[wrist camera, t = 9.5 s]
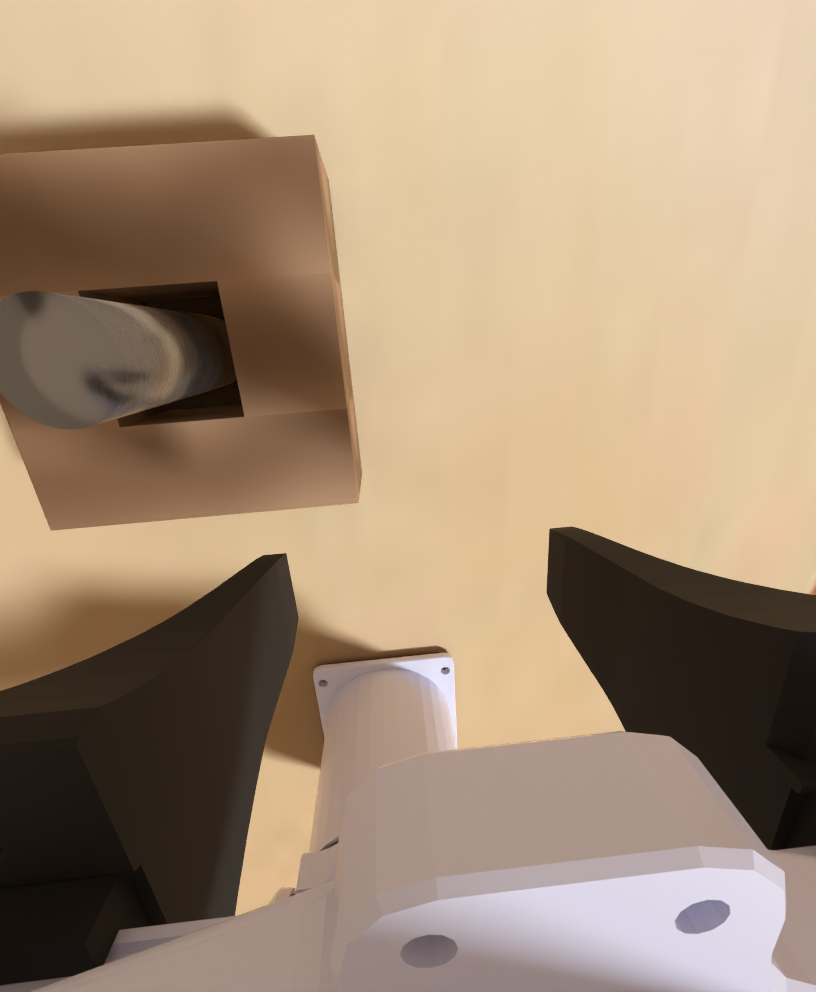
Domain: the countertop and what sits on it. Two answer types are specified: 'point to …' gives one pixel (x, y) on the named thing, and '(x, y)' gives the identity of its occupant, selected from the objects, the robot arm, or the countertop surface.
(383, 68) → the countertop surface
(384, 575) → the countertop surface
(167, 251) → the wooden square frame
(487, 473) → the countertop surface
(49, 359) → the steel pin
